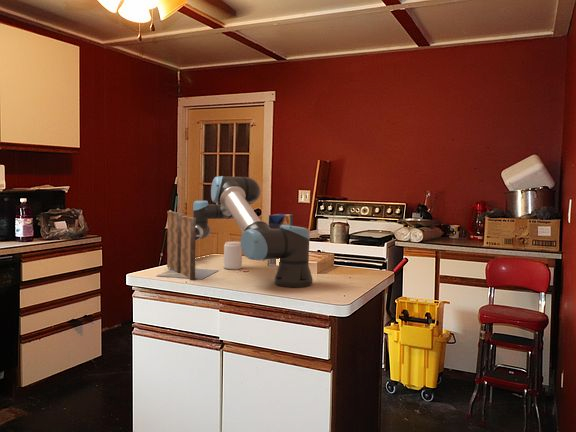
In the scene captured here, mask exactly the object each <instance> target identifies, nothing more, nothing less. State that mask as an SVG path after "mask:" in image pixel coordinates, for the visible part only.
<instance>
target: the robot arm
mask: <svg viewBox="0 0 576 432" xmlns="http://www.w3.org/2000/svg"><path fill="white" fill-rule="evenodd" d="M210 197H211V201H212V202H213V203H215V204H213V203H212V204H211V203H210V204H209V202H208V200H195V201H194V202H193V203H192V206H193V207H192V218H196V241H199V240H201V239H205V238H207V237H208V236H209V235H210V233H211V227H210V225H209V220H224V219H225V220H230V219H234V221H235V222H236V224H237V226H238V228H239V229H240V230H241V232H242V233H241V237H240V242H241V246H242V254H243V255H244V256H245V258H247V259H249V260H252V261H253V260H255V261H264V260H268V259H279V258H280V262H279V267H277V269H276V273H275V276H274V284H275V285H277V286H280V287H286V288H306V287H310V286H312V285H313V275H312V272H311V269H310V264H309V262H310V261H309V259H310V241H311V238H310V230H309V229H308V228H306V227H302V226H298V225H297V226H296V225H292V226H290V225H281V226H280V229H271V228H270V227H269V223H267V222H266V221H263V220H261V219H260V218H259V217H258V215H257V213H256V212H255V211H254V208H252V206H251V205H252V204H254V203H255V202H257V201H258V200H259V199H260V197H261V187H260V184H259V183H258V182H257V181H256V180H255V179H253V178H252V177H248V176H223V175H221V176H220V175H219V176H214V178H213V179H212V183H211V186H210Z"/></svg>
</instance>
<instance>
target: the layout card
mask: <svg viewBox="0 0 576 432" xmlns="http://www.w3.org/2000/svg"><path fill="white" fill-rule="evenodd" d="M217 272H219V269H207V268H206V269H205V268H195V280H204V279H206V278H208V277H210V276H212V275H214V274H216V273H217ZM156 277H160V278H173V279H175V278H176V279H189V278H188V277H187V276H185V275H182V274H181V273H177V271H175V270H173V269H171V268H170V269H169V270H166V271H164V272H161V273H159V274H157V275H156ZM189 280H190V279H189Z"/></svg>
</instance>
